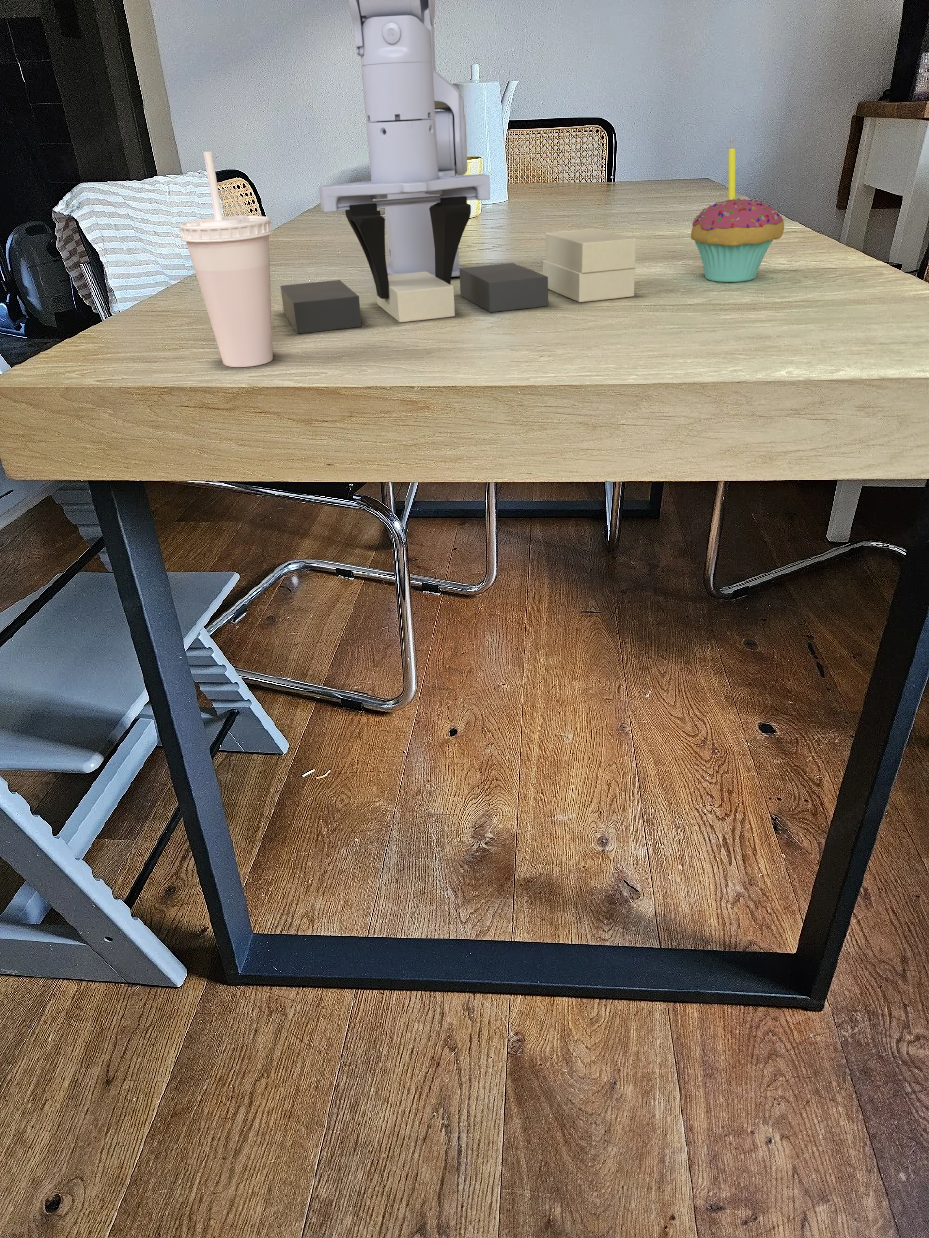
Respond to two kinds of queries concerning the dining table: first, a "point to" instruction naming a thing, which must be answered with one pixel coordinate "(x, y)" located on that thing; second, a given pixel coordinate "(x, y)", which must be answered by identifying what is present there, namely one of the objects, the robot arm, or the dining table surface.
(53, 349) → the dining table surface
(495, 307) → the grey book
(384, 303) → the cream book
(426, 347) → the dining table surface
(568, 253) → the cream stack
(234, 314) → the smoothie
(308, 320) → the grey book
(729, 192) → the cupcake
